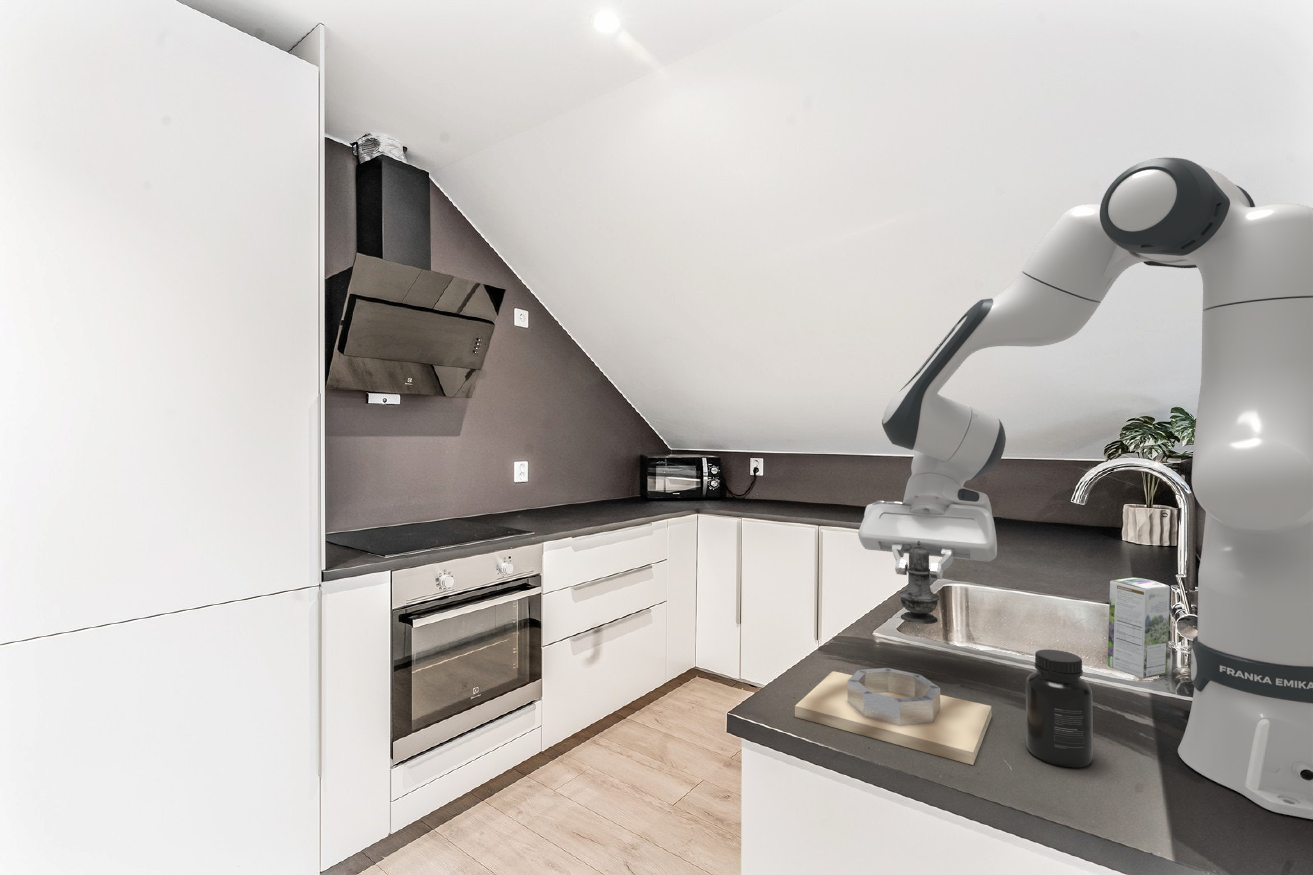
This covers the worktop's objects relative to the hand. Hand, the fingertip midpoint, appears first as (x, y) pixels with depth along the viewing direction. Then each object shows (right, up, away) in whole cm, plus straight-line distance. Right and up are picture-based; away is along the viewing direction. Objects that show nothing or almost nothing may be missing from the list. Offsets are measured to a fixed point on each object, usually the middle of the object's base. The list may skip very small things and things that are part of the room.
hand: (917, 574), depth 98 cm
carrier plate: (-8, -17, -11) cm, 21 cm away
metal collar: (-8, -16, -11) cm, 20 cm away
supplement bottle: (+9, -17, -21) cm, 28 cm away
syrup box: (+38, -17, +6) cm, 42 cm away
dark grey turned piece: (0, -7, +1) cm, 7 cm away
